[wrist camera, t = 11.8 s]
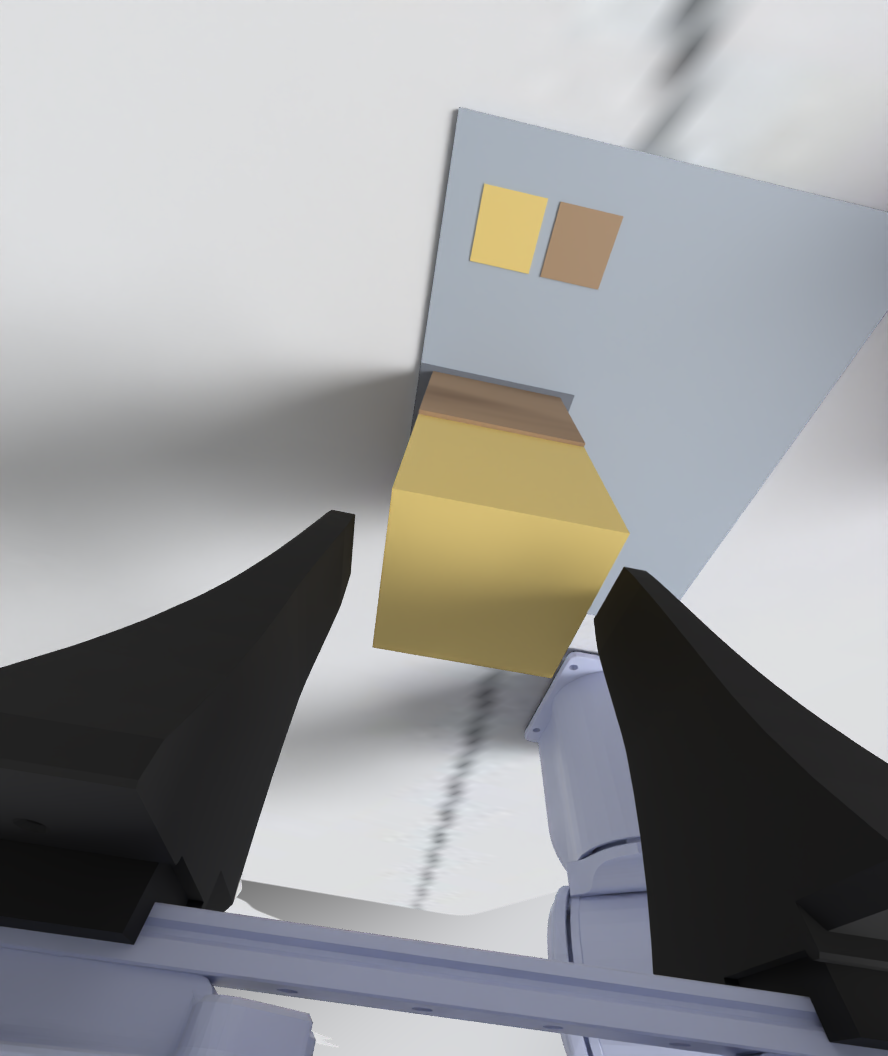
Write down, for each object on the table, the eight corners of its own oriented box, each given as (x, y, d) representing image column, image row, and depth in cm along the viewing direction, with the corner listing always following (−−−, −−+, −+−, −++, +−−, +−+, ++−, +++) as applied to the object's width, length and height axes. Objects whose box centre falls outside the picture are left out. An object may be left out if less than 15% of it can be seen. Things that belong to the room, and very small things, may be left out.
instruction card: (659, 624, 23) (660, 628, 22) (390, 574, 22) (389, 577, 22) (941, 227, 13) (949, 226, 12) (459, 108, 12) (458, 106, 12)
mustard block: (583, 447, 12) (629, 533, 9) (533, 572, 15) (551, 678, 11) (418, 413, 12) (392, 488, 8) (398, 547, 15) (372, 647, 11)
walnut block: (522, 505, 19) (533, 569, 15) (414, 484, 18) (398, 544, 15) (560, 397, 16) (585, 443, 12) (433, 370, 16) (419, 409, 12)
